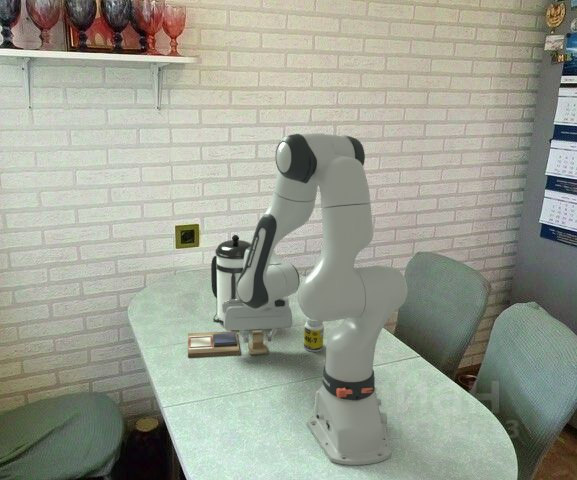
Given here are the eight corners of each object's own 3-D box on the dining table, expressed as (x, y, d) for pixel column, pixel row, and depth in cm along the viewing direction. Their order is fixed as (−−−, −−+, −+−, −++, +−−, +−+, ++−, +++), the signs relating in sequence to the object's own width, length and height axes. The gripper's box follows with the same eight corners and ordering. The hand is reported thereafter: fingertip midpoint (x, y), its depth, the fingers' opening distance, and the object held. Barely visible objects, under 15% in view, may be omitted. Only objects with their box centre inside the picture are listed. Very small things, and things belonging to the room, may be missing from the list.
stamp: (267, 354, 167) (267, 336, 165) (249, 355, 166) (249, 337, 164) (265, 346, 172) (265, 328, 170) (248, 347, 171) (248, 329, 169)
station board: (239, 354, 167) (239, 347, 166) (188, 357, 164) (187, 350, 164) (236, 334, 179) (236, 327, 178) (188, 336, 176) (188, 330, 176)
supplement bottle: (300, 349, 171) (301, 318, 168) (308, 341, 175) (309, 311, 172) (318, 354, 168) (319, 322, 165) (325, 346, 173) (327, 315, 170)
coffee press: (261, 312, 196) (262, 228, 187) (254, 332, 180) (255, 243, 172) (212, 309, 197) (211, 226, 188) (201, 329, 182) (199, 240, 173)
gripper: (222, 304, 159) (223, 348, 163) (294, 301, 163) (292, 344, 167) (221, 295, 165) (222, 338, 169) (290, 292, 169) (289, 334, 173)
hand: (257, 341), depth 168 cm, fingers open, 6 cm apart
